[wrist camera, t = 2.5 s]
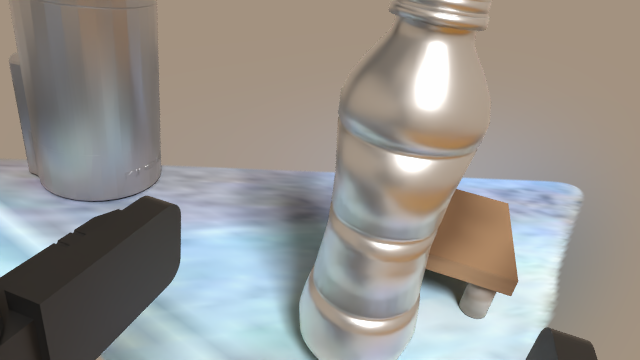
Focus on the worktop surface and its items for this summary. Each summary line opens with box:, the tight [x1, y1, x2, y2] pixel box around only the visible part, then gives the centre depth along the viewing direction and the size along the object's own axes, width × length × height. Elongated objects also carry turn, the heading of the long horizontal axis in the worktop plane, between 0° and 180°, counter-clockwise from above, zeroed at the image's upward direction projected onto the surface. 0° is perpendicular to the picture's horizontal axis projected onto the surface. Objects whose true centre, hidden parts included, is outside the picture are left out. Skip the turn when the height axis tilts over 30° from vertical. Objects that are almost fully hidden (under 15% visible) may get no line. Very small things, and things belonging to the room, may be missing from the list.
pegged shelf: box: [425, 189, 518, 319], centre depth 33 cm, size 10×10×4 cm
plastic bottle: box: [299, 0, 492, 360], centre depth 21 cm, size 6×7×20 cm
